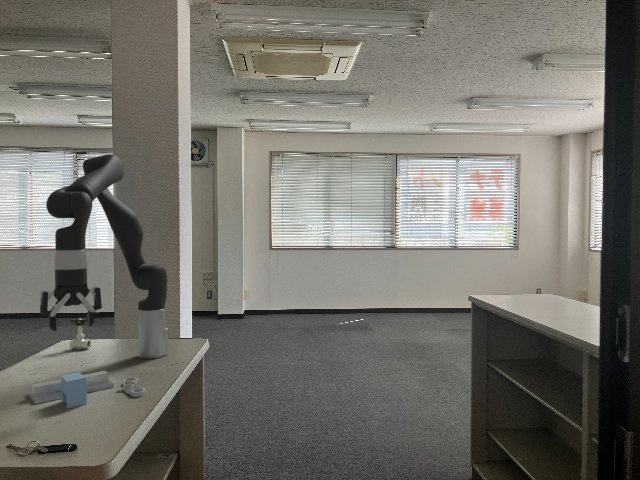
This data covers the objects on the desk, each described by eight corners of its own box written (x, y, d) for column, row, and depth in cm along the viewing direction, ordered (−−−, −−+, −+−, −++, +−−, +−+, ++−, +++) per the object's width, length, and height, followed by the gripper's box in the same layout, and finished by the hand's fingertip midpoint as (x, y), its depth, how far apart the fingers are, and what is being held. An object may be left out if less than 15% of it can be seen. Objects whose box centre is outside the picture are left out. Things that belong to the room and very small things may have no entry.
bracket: (149, 375, 142) (143, 390, 128) (149, 381, 142) (144, 397, 128) (122, 377, 140) (114, 393, 126) (122, 384, 140) (114, 400, 126)
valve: (84, 351, 178) (83, 320, 178) (67, 351, 178) (66, 320, 178) (93, 347, 184) (92, 317, 184) (76, 347, 184) (76, 317, 184)
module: (79, 397, 127) (79, 372, 127) (86, 404, 122) (86, 377, 122) (61, 401, 124) (60, 375, 124) (67, 408, 119) (67, 381, 119)
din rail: (103, 379, 143) (103, 367, 143) (113, 387, 136) (113, 375, 136) (27, 394, 130) (27, 382, 130) (34, 404, 123) (34, 391, 123)
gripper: (95, 265, 130) (96, 322, 131) (37, 268, 121) (38, 330, 121) (103, 266, 125) (104, 326, 125) (43, 269, 115) (44, 334, 116)
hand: (72, 328), depth 123 cm, fingers open, 8 cm apart
